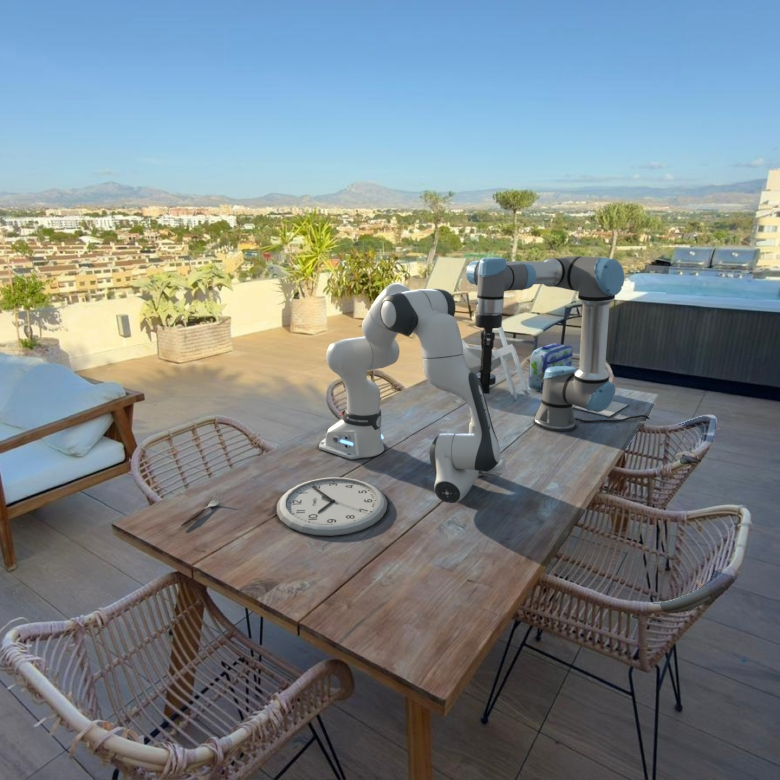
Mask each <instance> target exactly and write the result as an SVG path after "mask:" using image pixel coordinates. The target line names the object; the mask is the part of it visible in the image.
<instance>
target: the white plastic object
mask: <svg viewBox="0 0 780 780" xmlns="http://www.w3.org/2000/svg"><path fill="white" fill-rule="evenodd" d="M497 332H498V335H499V338H500V342H501V345H502V347H500V348H498V349H496V350H495V349H492V359H491V362H492V365H491V373H492V372H494V371H495V370H496V369H497V368H499V367H500V366H502V370H503V373H504V376H505V380H506V383H507V386H508V390H509V393H510V394H511V395H512V397H513V398H514V399H515V400H517V392H516V391H517V390H516V388H515V385H514V381H513V378H512V375H511V371H510V369H509V365H508V361H510V360H513V363H514V366H515V369H516V372H517V376H518V380H519V382H520V385H521V389H522V391H523V393H524V395H525V396H526V397H528V396H531V395H530V390H529V386H528V384H527V381H526V378H525V375H524V371H523V369H522V368H523V367H522V366H521V362H520V359H519V355H518V352H517V349H516V347H515V346H514V345H513V343H511V344H508V341H507V337H506V334H505V331H504V328H503V325H502V326H501V327H500V328H497ZM461 339H462V345H463V354H464V359H465V362H466V365H467V366H468V368H469V370H470V371H471V372H472V373H474V374H477V373H480V372H479V370H480V367H481V354H482V348H481V344H479V345H473V346H469V345H468V343H466V342H465V340H464V339H463V338H461Z"/></svg>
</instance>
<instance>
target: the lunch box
mask: <svg viewBox="0 0 780 780" xmlns="http://www.w3.org/2000/svg"><path fill="white" fill-rule="evenodd" d="M573 356H574V355H573V347H572V346H571V345H566V344H560V343H551V344H548V345H544V346H541V347H538V348H536V349H534V350H533V351H532V353H531V355H530V359H529V370H528V371H529V372H528V389H531V390H536V391H541V392H542V391H543V381H544V379H543V378H544V375H545V370H546V369H547V368H549V367H555V366H571V367H572V365H573V363H572V362H573Z"/></svg>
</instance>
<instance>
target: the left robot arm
mask: <svg viewBox="0 0 780 780" xmlns="http://www.w3.org/2000/svg"><path fill="white" fill-rule="evenodd" d="M455 315H456V302H455V299H454V297H453V295H452V294H451V292H449V291H448V290H445V289H442V288H431V289H430V288H429V289H428V288H421V289H418V288H417V289H413V290H410V288H408V287H407V286H406V285H405V284H401V283H397V282H396V283H395V282H394V283H390V284H388V285H387V286H386V287H385V288H384V289H383V290H382V291H381V292H380V293H379V294H378V295H377V297H376V298H375V300H374V301H373V302H372V304H371V306H370V308H369V309H368V311H367V313H366V315H365V316H364V318H363V320H362V322H361V331H362V335H363V336H358V337H350V338H344V339H340V340H337V341H335V342H332V343H330V344H329V346H328V347H327V350H326V353H325V361H326V364H327V366H328V367H329V369H330V371H332V372H333V373H335V374H336V375H338V377H339V378H340V379H341V381H342V382H343V385H344V388H345V395H346V408H344V409H343V410H342V411H341V412H339V414H340V415H339V416H340V417H342V418H341V419H340V420H338V421H337V422H335V423H334V424H332V425H331V426H330V427H328V429H327V431H326V434H325V438H324V439H322V440H321V441H320V443H319V444H318V449H319V450H322V451H323V452H324V451H325V452H327V453H330V454H334V455H336V456H339V457H342V458H345V459H348V460H356V459H362V458H371V457H377V456H378V455H380V454H382V453H384V451H385V446H384V442H383V440H384V435H383V434H382V430H381V427H382V409H381V389H380V387H379V386H378V384H377V383H375V382H374V381H372V380H370V379H368V376H367V371H372V370H378V369H383V368H387V367H390V366H391V365H393V364H395V363H396V362H397V361H398V359H399V357H400V346H399V343H398V341H397V340H396V337H398V335H399V334H400V335H403V336H405V337H410V336H411V335H412V334H415V335H416V336H417V338H418V339H419V342H420V351H421V352H420V354H421V363H422V369H423V374H424V377H425V379H426V380H427V382H429V383H430V384H431V385H432V386H434V387H435V388H437V389H439V390H442V391H444V392H447V393H450V394H453V395H455V396H457V397H459V398H461V399H462V400H463V401H464V402H466V404H467V406H468V408H469V413H470V417H472V420H473V424H474V427H475V431H476V433H469V432H467V433H465V432H464V433H461V432H460V433H459V432H441V433H439V434H438V435H436V436H435V438H434V439H433V441H432V443H431V445H430V448H429V462H430V465H431V467H432V469H433V471H434V473H435V475H436V477H435V482H434V487H433V489H434V490H433V491H434V494H435V495H436V497H437V498H438V499H439V500H441V501H442V502H444V503H448V504H456V503H458V502H460V501H462V500H463V499H464V498H465V497H466V496H467V494H468V493H469V492H470V490H471V489H472V487H473V485H474V484H475V482H476V481H477V479H478V478H479V477H480V476H479V474H480V475H481V476H485V477H491V478H498V477H499V476H501V475H502V474H503V473H504V471H506V462H507V461H506V459H505V457H502V456H501V453H502V452H501V447H500V444H499V443H500V442H499V440H498V437H497V434H496V431H495V429H494V425H493V421H492V418H491V414H490V410H489V407H488V403H487V400H486V396H485V394H484V392H483V389H482V386H481V383H480V380H479V378H478V376H477V375H476V374H474V373H472V372H471V371H470V370H469V368H468V366H467V365H466V362H465V359H464V354H463V345H462V339H463V338H462V335H461V331H460V327H459V324H458V321H457V319H456V318H455Z"/></svg>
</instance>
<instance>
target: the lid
mask: <svg viewBox="0 0 780 780" xmlns="http://www.w3.org/2000/svg"><path fill="white" fill-rule="evenodd" d="M476 375H477V376H478V378H479V380H481V373H477V374H476ZM496 377H497V376H496V374H493V373H490V386H493V385H495V384H496V380H497V378H496Z"/></svg>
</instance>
